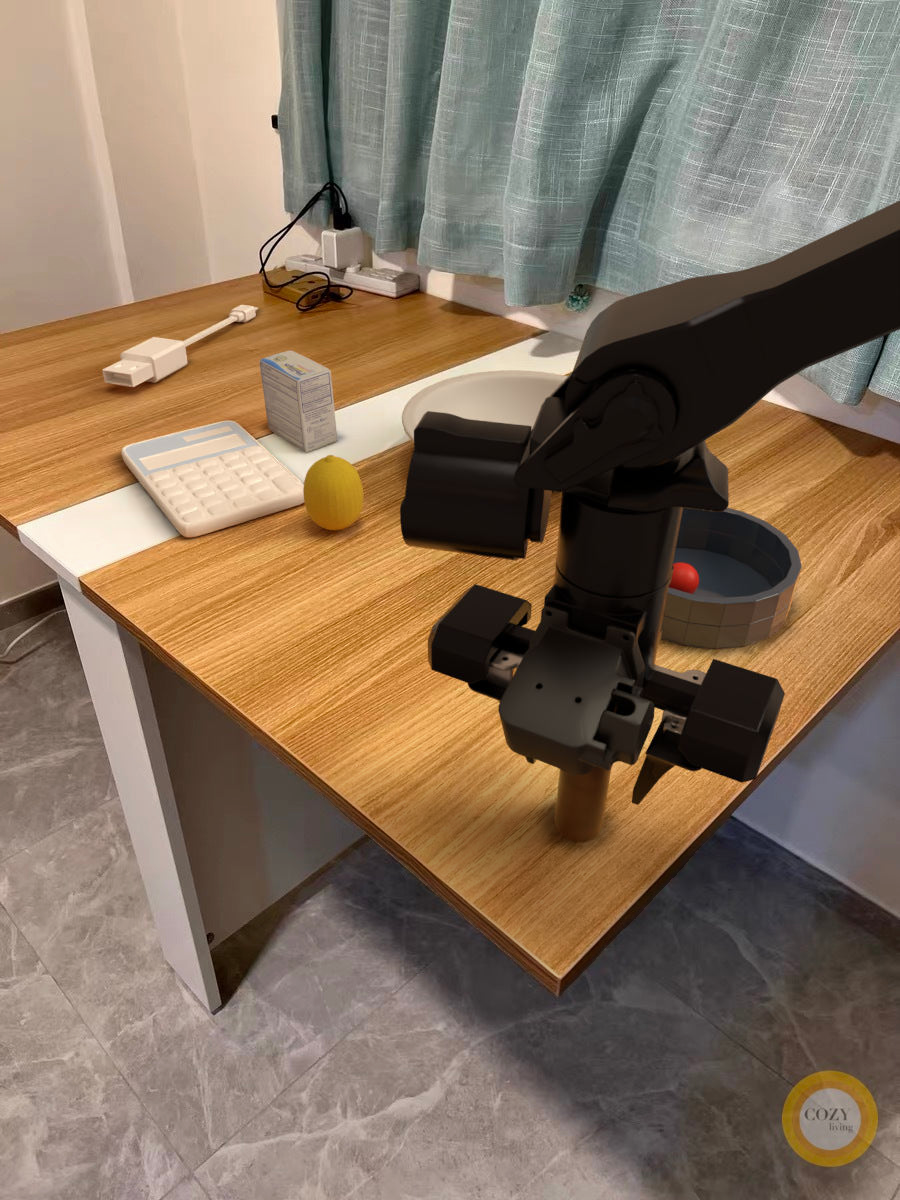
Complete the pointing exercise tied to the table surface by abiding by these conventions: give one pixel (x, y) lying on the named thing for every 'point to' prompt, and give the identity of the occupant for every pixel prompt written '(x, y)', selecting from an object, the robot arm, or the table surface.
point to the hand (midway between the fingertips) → (584, 778)
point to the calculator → (212, 477)
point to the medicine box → (299, 400)
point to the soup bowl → (485, 397)
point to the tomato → (684, 578)
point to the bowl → (730, 580)
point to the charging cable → (163, 354)
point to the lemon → (333, 493)
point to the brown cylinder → (581, 804)
